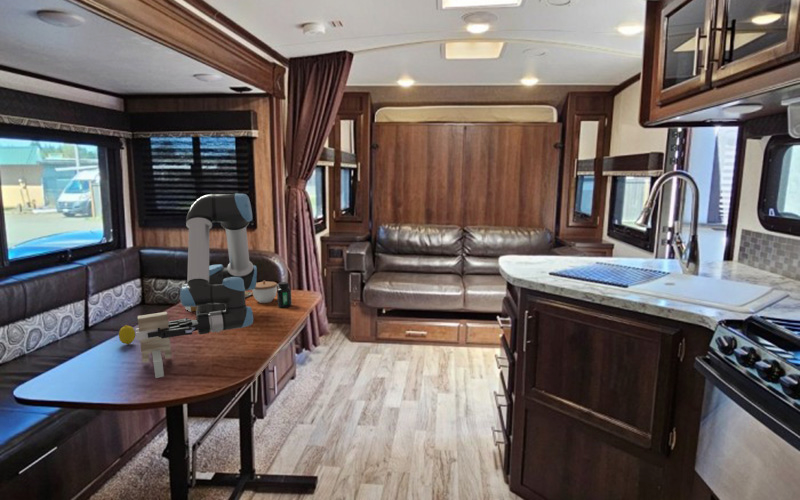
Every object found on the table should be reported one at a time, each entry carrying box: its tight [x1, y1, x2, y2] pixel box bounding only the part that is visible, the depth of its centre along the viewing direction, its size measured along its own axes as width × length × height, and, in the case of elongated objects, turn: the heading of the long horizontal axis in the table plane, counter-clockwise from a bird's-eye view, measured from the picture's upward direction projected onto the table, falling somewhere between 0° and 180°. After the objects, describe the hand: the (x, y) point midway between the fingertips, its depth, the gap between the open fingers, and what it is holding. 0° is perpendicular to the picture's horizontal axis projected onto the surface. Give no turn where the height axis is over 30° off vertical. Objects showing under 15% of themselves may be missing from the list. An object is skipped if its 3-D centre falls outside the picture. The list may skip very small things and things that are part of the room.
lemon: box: [118, 324, 136, 346], centre depth 178 cm, size 6×6×8 cm
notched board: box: [151, 350, 165, 379], centre depth 161 cm, size 28×2×6 cm, turn 30°
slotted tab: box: [137, 311, 172, 364], centre depth 160 cm, size 4×9×16 cm, turn 120°
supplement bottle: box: [276, 281, 293, 309], centre depth 228 cm, size 7×7×12 cm
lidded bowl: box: [251, 280, 278, 304], centre depth 238 cm, size 13×13×11 cm
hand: (136, 334), depth 157 cm, fingers closed on slotted tab, 3 cm apart
